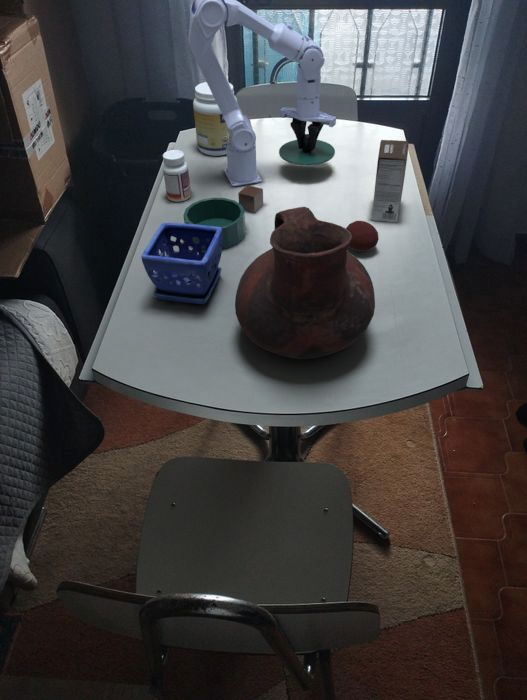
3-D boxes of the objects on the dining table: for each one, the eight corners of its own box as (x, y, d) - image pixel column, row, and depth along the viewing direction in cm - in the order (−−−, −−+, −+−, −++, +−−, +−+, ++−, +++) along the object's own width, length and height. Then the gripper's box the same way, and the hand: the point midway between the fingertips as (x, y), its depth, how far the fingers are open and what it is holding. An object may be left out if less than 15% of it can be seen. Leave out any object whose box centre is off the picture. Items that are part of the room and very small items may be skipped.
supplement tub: (227, 160, 166) (222, 98, 154) (189, 152, 170) (182, 91, 158) (247, 142, 174) (244, 82, 162) (211, 135, 178) (205, 76, 166)
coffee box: (373, 201, 148) (380, 138, 136) (400, 203, 146) (409, 140, 135) (370, 221, 141) (377, 156, 130) (398, 223, 140) (407, 158, 129)
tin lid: (272, 147, 161) (271, 128, 157) (323, 139, 163) (324, 120, 160) (288, 171, 150) (289, 152, 147) (343, 162, 153) (344, 143, 150)
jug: (359, 289, 122) (370, 176, 105) (381, 377, 104) (399, 258, 87) (237, 294, 122) (228, 182, 105) (237, 384, 104) (227, 266, 87)
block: (239, 209, 147) (238, 192, 144) (248, 200, 150) (247, 184, 146) (254, 213, 145) (254, 196, 142) (263, 204, 148) (262, 188, 145)
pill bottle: (187, 188, 155) (182, 146, 147) (194, 199, 151) (189, 157, 143) (164, 193, 154) (158, 151, 146) (170, 204, 149) (163, 161, 142)
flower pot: (147, 305, 120) (137, 256, 112) (169, 267, 130) (161, 219, 122) (211, 313, 118) (205, 263, 110) (228, 274, 127) (224, 225, 119)
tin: (181, 223, 143) (178, 203, 139) (237, 214, 145) (235, 193, 141) (193, 254, 133) (190, 233, 129) (251, 243, 135) (250, 222, 132)
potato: (348, 260, 130) (350, 236, 126) (337, 240, 136) (339, 216, 131) (381, 255, 131) (384, 232, 126) (368, 235, 137) (371, 212, 132)
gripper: (342, 94, 146) (338, 147, 155) (289, 85, 151) (289, 137, 161) (330, 104, 142) (327, 158, 151) (276, 94, 147) (276, 147, 156)
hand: (307, 148), depth 156 cm, fingers closed on tin lid, 2 cm apart
